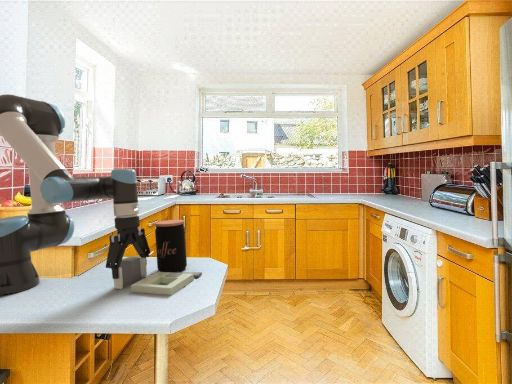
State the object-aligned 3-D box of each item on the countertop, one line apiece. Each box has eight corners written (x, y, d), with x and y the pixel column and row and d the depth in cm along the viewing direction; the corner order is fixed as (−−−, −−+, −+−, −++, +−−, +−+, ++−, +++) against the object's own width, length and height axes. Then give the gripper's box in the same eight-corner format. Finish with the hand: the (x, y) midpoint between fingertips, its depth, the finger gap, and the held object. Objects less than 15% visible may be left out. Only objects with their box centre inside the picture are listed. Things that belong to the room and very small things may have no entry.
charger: (120, 284, 97) (119, 260, 96) (130, 279, 101) (128, 256, 101) (132, 285, 95) (130, 260, 95) (141, 280, 100) (139, 256, 99)
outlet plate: (131, 291, 90) (131, 284, 90) (157, 277, 102) (157, 271, 102) (171, 294, 86) (171, 287, 85) (193, 279, 98) (193, 273, 98)
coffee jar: (151, 272, 108) (148, 223, 108) (172, 264, 118) (169, 219, 117) (173, 275, 103) (170, 224, 103) (193, 266, 113) (190, 220, 112)
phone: (178, 278, 100) (178, 275, 100) (182, 274, 104) (182, 272, 104) (198, 277, 99) (198, 275, 99) (201, 274, 103) (201, 272, 103)
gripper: (108, 221, 85) (114, 296, 86) (158, 211, 107) (162, 271, 108) (88, 221, 87) (93, 294, 88) (141, 211, 109) (145, 270, 110)
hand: (131, 281), depth 98 cm, fingers open, 11 cm apart
